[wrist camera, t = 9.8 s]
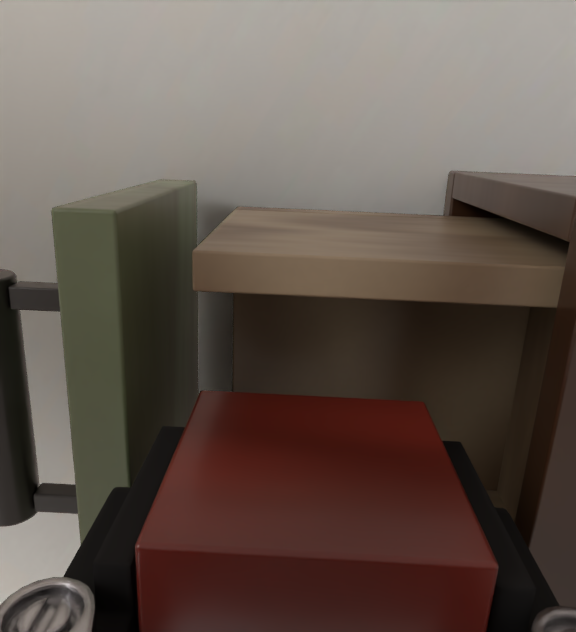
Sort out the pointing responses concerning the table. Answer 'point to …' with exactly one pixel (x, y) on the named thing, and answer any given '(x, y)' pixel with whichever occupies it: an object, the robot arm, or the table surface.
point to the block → (312, 522)
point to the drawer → (277, 329)
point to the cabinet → (560, 370)
